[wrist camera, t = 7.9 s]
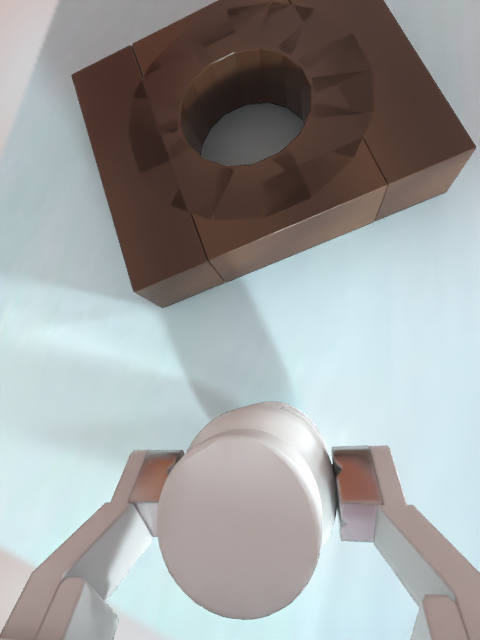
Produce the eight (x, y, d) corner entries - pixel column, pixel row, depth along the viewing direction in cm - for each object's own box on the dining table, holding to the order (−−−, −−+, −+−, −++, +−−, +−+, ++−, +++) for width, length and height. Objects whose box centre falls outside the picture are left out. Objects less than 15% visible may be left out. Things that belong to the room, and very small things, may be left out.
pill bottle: (223, 514, 14) (132, 646, 7) (218, 404, 15) (133, 417, 8) (333, 514, 14) (364, 662, 6) (321, 398, 15) (335, 405, 7)
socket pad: (162, 309, 17) (132, 292, 14) (104, 119, 20) (70, 74, 17) (446, 192, 16) (477, 147, 13) (338, 6, 19) (343, -65, 16)
